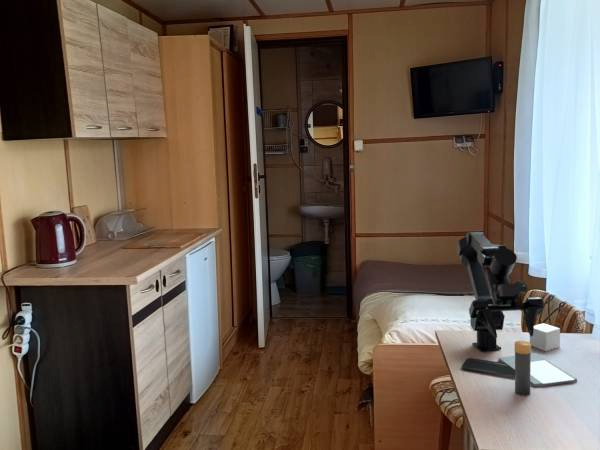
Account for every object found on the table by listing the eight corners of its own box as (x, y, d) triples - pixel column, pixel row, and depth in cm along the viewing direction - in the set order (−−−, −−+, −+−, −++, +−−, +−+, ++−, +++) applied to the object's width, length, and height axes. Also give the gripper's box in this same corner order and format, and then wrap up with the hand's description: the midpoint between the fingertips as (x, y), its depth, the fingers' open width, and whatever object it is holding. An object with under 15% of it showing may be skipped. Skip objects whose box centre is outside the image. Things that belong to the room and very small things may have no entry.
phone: (467, 357, 156) (522, 365, 148) (467, 361, 156) (522, 369, 148) (460, 367, 149) (516, 376, 141) (460, 371, 149) (516, 380, 141)
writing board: (498, 360, 154) (498, 357, 154) (536, 355, 156) (536, 352, 156) (535, 387, 136) (535, 384, 136) (578, 382, 138) (578, 379, 137)
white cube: (529, 345, 164) (529, 326, 163) (543, 341, 166) (543, 323, 166) (546, 351, 159) (546, 332, 158) (559, 347, 161) (560, 328, 160)
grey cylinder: (511, 390, 135) (511, 341, 134) (525, 388, 136) (525, 340, 134) (519, 396, 132) (519, 347, 130) (533, 395, 132) (534, 345, 130)
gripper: (471, 271, 142) (484, 324, 132) (542, 268, 141) (560, 321, 131) (464, 292, 150) (475, 343, 141) (530, 289, 149) (546, 340, 140)
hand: (513, 336), depth 138 cm, fingers open, 9 cm apart
